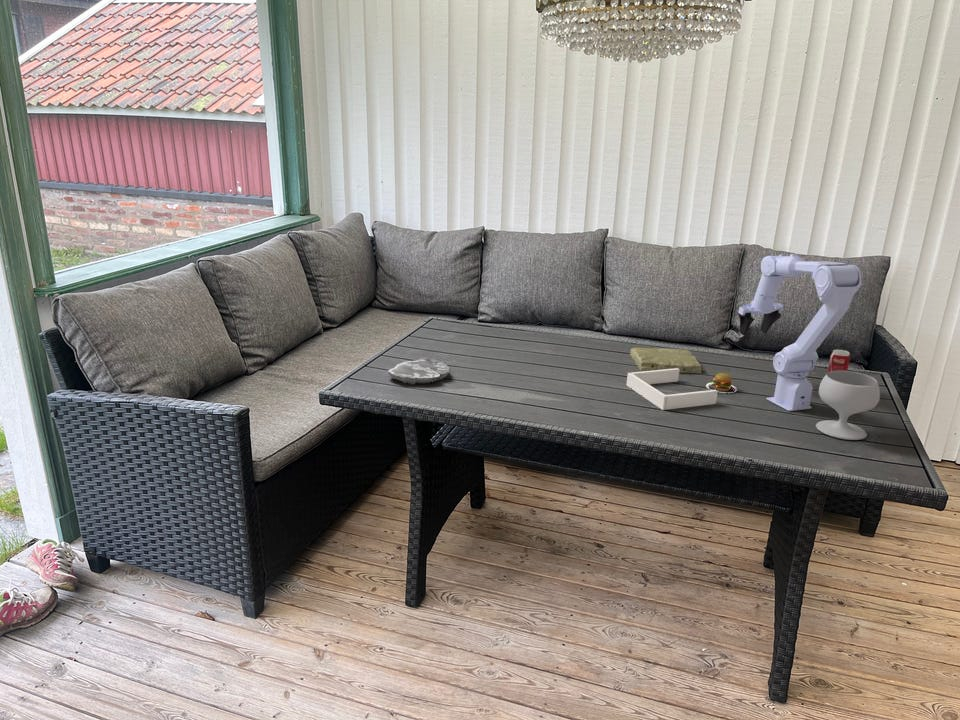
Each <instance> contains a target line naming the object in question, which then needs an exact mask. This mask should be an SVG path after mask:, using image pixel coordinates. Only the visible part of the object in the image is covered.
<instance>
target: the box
mask: <svg viewBox="0 0 960 720" xmlns="http://www.w3.org/2000/svg"><path fill="white" fill-rule="evenodd" d="M679 375H680V373H679V369H678V368H674V369H664V370H653V371H636V372H632V371H631V372H627V378H626V387H628V388H630V389H631V388H632V389H631V390H633V392H636V393H637V394H639V395H640V396H641V395H642V396H641V397H643V398H644V399H646V400H647V401H649V402H650V403H651V404H653V405H654V406H656V407H657V408H659V409H661V410H662V411H666V410H676V409H682V408H683V409H684V408H692V407H700V406H701V407H702V406H710V405H716V404H717V399H718V392H719V390H716V389H711V390H710V389H708V390H701V391H692V392H691V391H690V392H683V393H681V392H680V393H673V394H665V393H663V392H661V390H658V389H656V388H655V387H654V386H652V385H655V384H656V385H657V384H664V383H673V382H674V383H675V382H677V383H678V382H679Z"/></svg>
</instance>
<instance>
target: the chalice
mask: <svg viewBox="0 0 960 720" xmlns="http://www.w3.org/2000/svg"><path fill="white" fill-rule="evenodd" d="M827 372H828V371H827ZM880 390H881V389H880V386H879V382H878V380H877V379H876V378H874V377H873V376H870V375H867V374H865V373H862V372H858V371H857V372H856V371H850V370H847V371H843V370H836V371H830V372H828V373H826V374H825V375H824V377H823V378H822V379H821V381H820V384H819V387H818V395H819V397H820V399H821V400H822V401H823V402H824V403H825V404H826V405H828V406H829V407H830V408H832V409H833V410H835V411H836V412H837V414H838V415H839V416H838V417H839V418H838V420H835V419H834V420H831V419H828V420H821V421H818V422H817V423H815V428H816V429H817V430H818V431H819V432H821V433H822V434H825V435H827V436H830V437H833V438H837V439H841V440H849V441H857V440H858V441H859V440H864V439H866V438H867V437H868V433H867V432H866V431H865V430H864V429H863V428H861V427H859V426H857V425H856V424H853V423H849V422H848V419H849V417H851V416H853V415H854V414H860V413H864V412H868V411H870V410H872V409H874V408H875V407H877V405H878V403H879V402H880V400H881V399H880V398H881V391H880Z"/></svg>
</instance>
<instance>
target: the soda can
mask: <svg viewBox="0 0 960 720" xmlns="http://www.w3.org/2000/svg"><path fill="white" fill-rule="evenodd" d="M850 360H851V356H850V351H848V350H844V349H833V350H832V352H831V354H830V357H829V362H828V368H827V373H828V372H830V371H836V370H843V371H849V364H850ZM827 373H826V374H827Z"/></svg>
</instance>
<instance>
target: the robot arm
mask: <svg viewBox="0 0 960 720" xmlns="http://www.w3.org/2000/svg"><path fill="white" fill-rule="evenodd" d="M760 270H761V276H760V279H759V283H758V286H757V289H756V291H755V295H754V298H753V300H751V302H750V303H749V304H746V305H743V306H739V308H738V311H737V315H738V319H739V333H740V334H741V335H742V336H746V335H747V334H748V331H749V328H750V327H751V325H752V323H753V322H754V321H755V319H756V318H754V317H753V316H752V314H763V318H762V322H761V326H760V328H759V329H760V331H761V332H762V333H763V334H767V333H768V332H769V330H770V329H771V328H772V326H773V324H774V323H776V321H778V320H779V319H781V316H782V314H781V313H782V312H783V309H784V305H783V304H781V303H778V302H775V301H776V298H777V295H778V293H779V290H780V287H781V284H782V282H783V281H784V280H785V279H786V278H787V277H790V278H799V277H801V276H803V275H804V274H807V275H812V277H811V278H812V281H814V286H815V289H816V292H817V296H818V298H819V299H818V300H819V301H820V302H821V303H822V305H821V306H820V308H819V310H818V311H817V313H816V314H815V315H814V317H813V318H812V319H811V321H810V322H809V324H807V326H806V327H805V329H804V330H803V331H802V333H801V334H800V335H799V336H798V338H797V340H796V341H795V342H794V343H792V344H789V345H787V346H785V347H783V348H782V350H781V351H779V352H776V353H775V355H774V357H773V359H772V360H773V361H772V365H773V368H774V371H775V373H777V377H776V381H775V382H776V383H775V390H774V395H773V396H769V397H766V400H767V401H768V402H771V403H773V404H775V405H777V406H778V407H780V408H782V409H784V410H785V411H788V412H794V411H801V410H810V409H812V406H811V405H810V404H811V400H812V399H811V398H812V393H813V385H812V383H811V381H809V380H808V379H807V377H808V376H809V373H811V372H812V371H813V370H814V368H815V366H816V363H817V361H818V359H819V356H818V353H817V350H818V348H819V347H820V346H821V344H823V342H824V341H825V339H826V338H827V337H828V336H829V334H831V331H832V330H833V329H834V328H835V327H836V325H837V324H838V323H839V322H840V320H841V319H842V318H843V316H844V315H845V314H846V313H847V311H848V310H849V308H850V305H851V303H852V300H853V297H854V295H855V294H856V293H857V291H858V290H859V289H860V288H861V286H862V285H863V282H862V272H861V270H860V268H859V266H857V265H855V264H848V263H844V262H836V261H825V260H823V261H806V260H805V259H804V258H803V257H802V256H798V254H796V253H793V254H791V253H790V255H786V254H779V255H767V256H764V257H763V258H762V259H761V263H760Z"/></svg>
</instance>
